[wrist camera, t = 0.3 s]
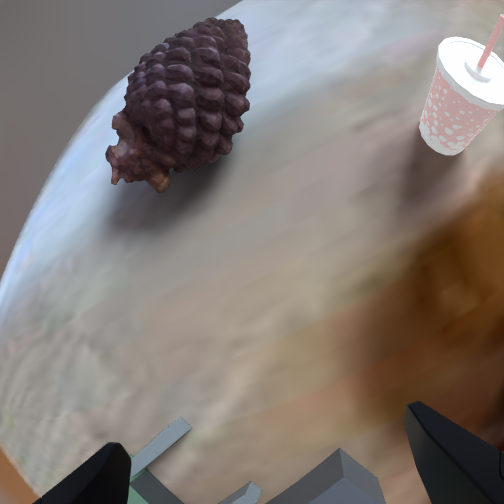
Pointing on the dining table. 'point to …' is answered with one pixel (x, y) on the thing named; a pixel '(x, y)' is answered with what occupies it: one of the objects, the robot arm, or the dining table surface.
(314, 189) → the dining table surface
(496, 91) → the beverage cup
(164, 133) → the pine cone
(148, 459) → the green and blue-gray block
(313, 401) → the dining table surface
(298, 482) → the slate gray cuboid
